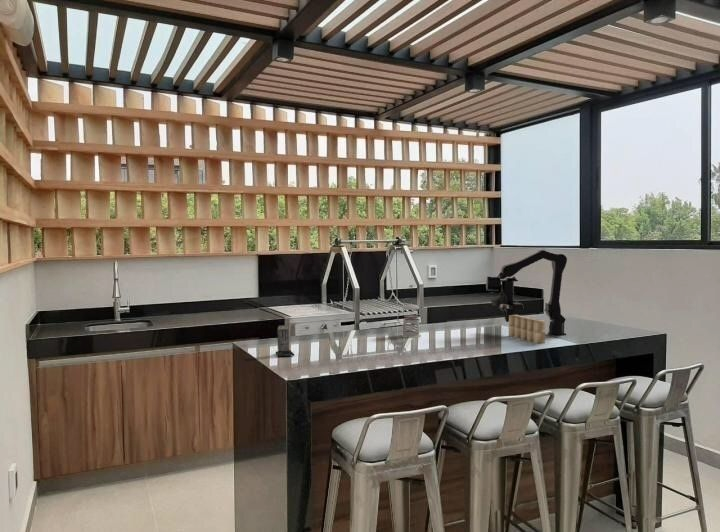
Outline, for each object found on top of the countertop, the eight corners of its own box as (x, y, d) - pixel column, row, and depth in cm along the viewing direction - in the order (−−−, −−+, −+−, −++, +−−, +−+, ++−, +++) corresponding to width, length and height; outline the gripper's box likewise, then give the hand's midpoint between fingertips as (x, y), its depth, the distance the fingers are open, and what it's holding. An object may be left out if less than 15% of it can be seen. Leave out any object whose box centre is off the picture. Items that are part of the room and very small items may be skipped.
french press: (422, 337, 264) (422, 285, 262) (397, 337, 264) (397, 285, 263) (420, 334, 274) (420, 283, 272) (396, 334, 274) (397, 283, 273)
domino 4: (535, 340, 257) (536, 318, 256) (538, 340, 255) (538, 319, 255) (526, 340, 255) (527, 319, 255) (529, 341, 253) (529, 319, 253)
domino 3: (529, 338, 261) (529, 317, 261) (531, 339, 260) (532, 317, 259) (520, 339, 260) (520, 318, 259) (522, 339, 258) (523, 318, 257)
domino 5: (542, 342, 252) (542, 320, 252) (545, 342, 251) (545, 320, 250) (533, 342, 251) (533, 320, 250) (535, 343, 249) (536, 321, 248)
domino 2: (523, 336, 266) (523, 316, 265) (525, 337, 264) (525, 316, 264) (514, 337, 264) (514, 316, 264) (516, 338, 262) (516, 317, 262)
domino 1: (517, 335, 270) (517, 314, 270) (519, 335, 269) (519, 315, 268) (508, 335, 269) (508, 315, 268) (510, 336, 267) (511, 315, 266)
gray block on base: (272, 354, 228) (271, 324, 227) (290, 352, 231) (289, 323, 231) (279, 358, 219) (279, 328, 219) (298, 356, 223) (297, 326, 222)
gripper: (483, 289, 279) (483, 320, 280) (504, 292, 262) (504, 325, 262) (502, 288, 283) (501, 318, 284) (524, 291, 265) (524, 324, 266)
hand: (507, 321), depth 274 cm, fingers closed
